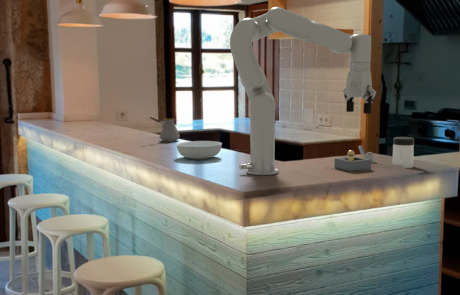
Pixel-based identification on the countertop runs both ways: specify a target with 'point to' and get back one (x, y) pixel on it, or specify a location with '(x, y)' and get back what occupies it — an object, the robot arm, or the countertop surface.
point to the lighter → (368, 155)
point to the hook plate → (347, 171)
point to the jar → (403, 151)
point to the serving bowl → (199, 149)
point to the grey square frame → (352, 164)
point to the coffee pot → (168, 130)
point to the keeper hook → (351, 155)
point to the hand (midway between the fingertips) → (358, 112)
